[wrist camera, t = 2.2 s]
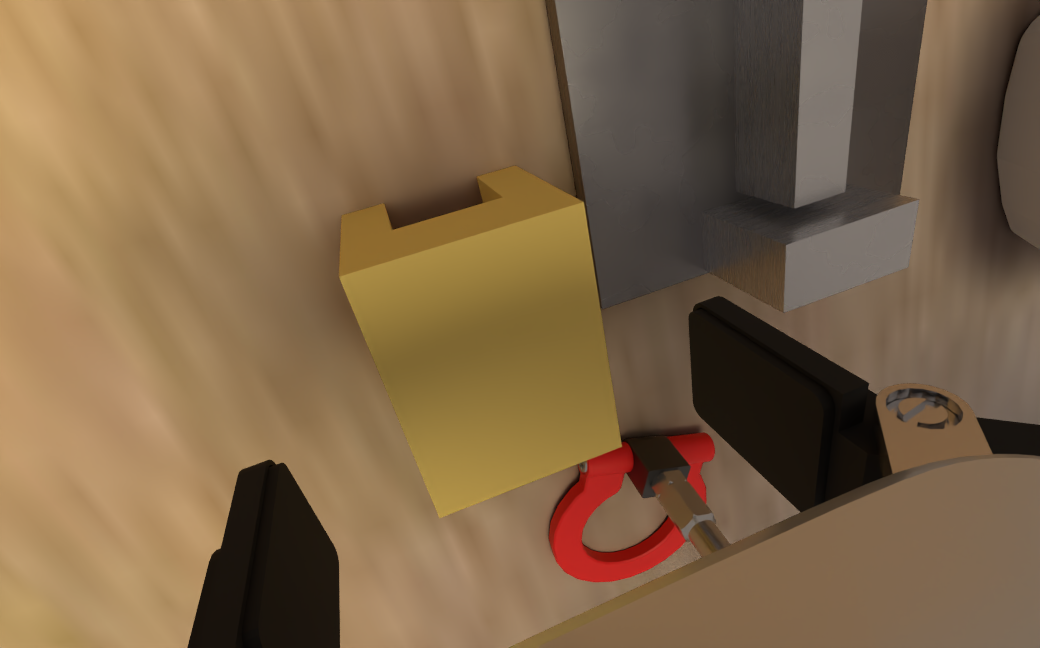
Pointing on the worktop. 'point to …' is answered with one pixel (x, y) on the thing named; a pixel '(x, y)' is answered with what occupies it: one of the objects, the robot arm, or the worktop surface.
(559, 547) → the tow hook
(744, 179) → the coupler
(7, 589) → the worktop surface
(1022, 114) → the bowl
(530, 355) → the notched yellow block
